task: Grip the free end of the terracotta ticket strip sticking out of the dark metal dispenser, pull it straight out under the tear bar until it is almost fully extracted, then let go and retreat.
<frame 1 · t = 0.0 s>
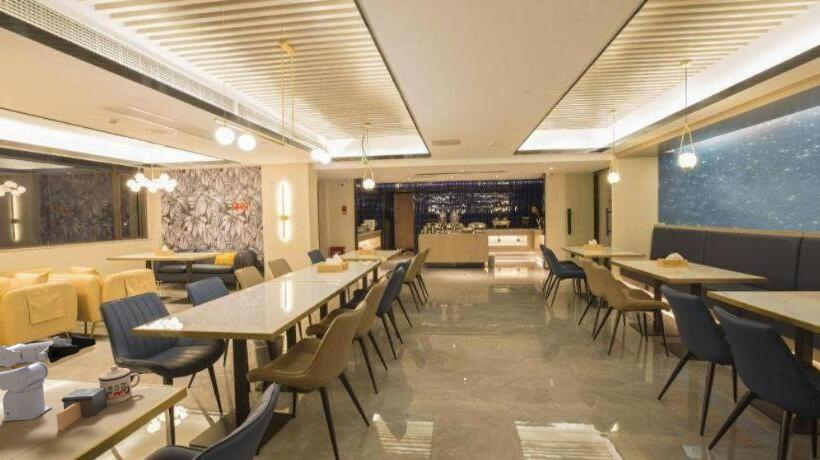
hand: (86, 345, 135), 22 cm above the table, tool horizontal, fingers open, 7 cm apart
dispenser: (86, 412, 135), on the table
teacup with lid: (121, 398, 145), on the table
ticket: (74, 412, 130), point 2 cm above the table, slide at 0.0 cm
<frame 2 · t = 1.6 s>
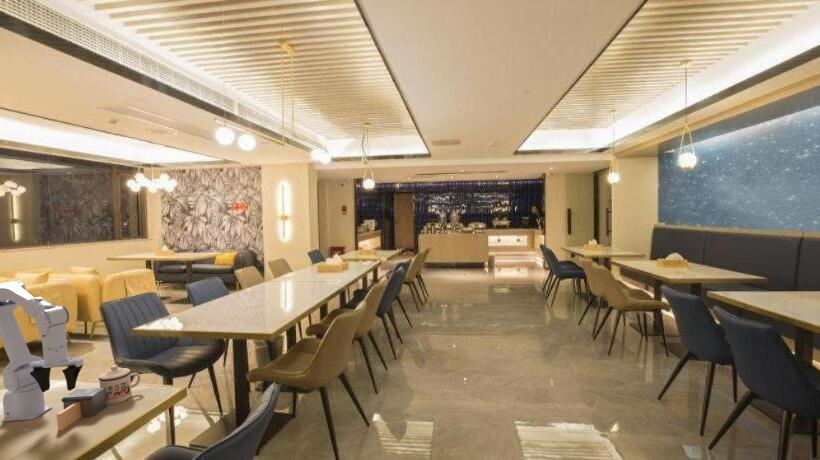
hand: (58, 390, 129), 10 cm above the table, tool pointing down, fingers open, 7 cm apart
nothing on the table moved.
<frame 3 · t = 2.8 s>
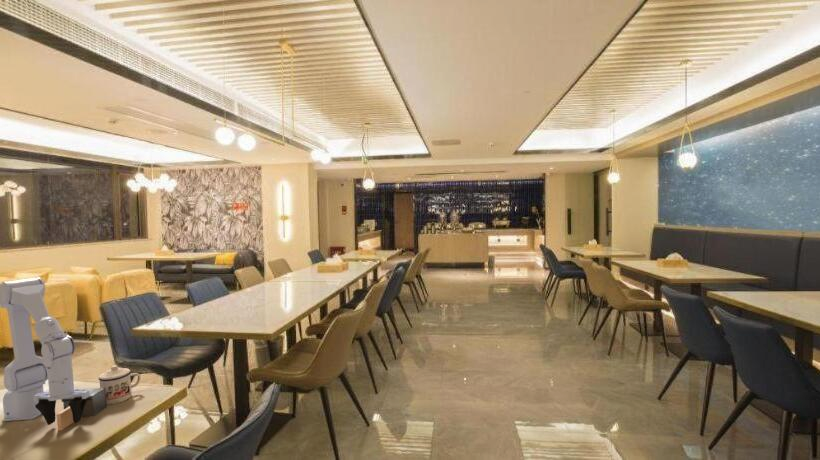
hand: (64, 422, 126), 1 cm above the table, tool pointing down, fingers open, 7 cm apart
nothing on the table moved.
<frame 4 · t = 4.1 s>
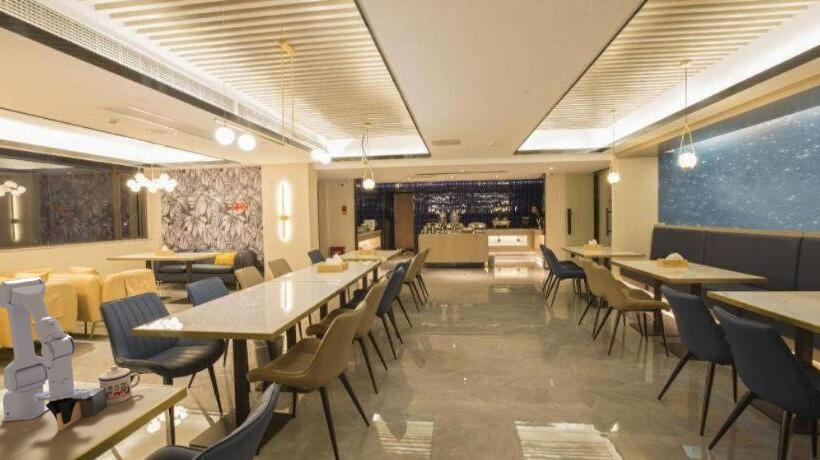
hand: (64, 422, 126), 1 cm above the table, tool pointing down, fingers closed, pressing on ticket
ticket: (74, 412, 130), point 3 cm above the table, slide at 0.0 cm, touching gripper
everything else where it was.
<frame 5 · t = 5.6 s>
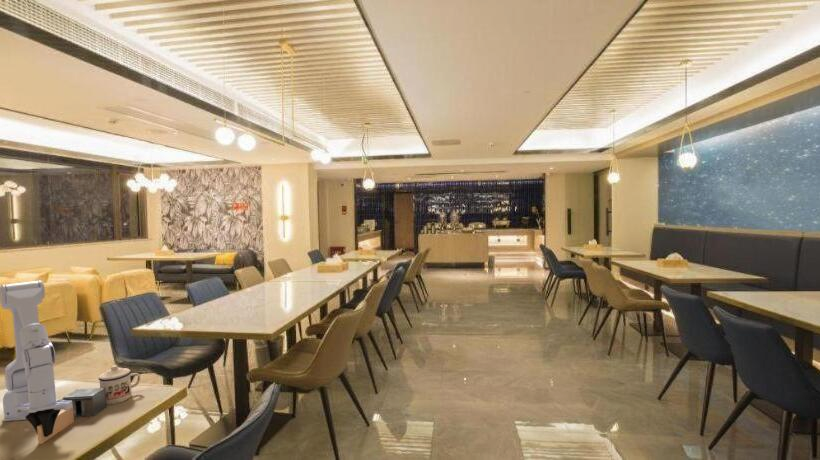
hand: (45, 435, 119), 1 cm above the table, tool pointing down, fingers closed, pressing on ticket
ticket: (56, 424, 123), point 2 cm above the table, slide at 7.0 cm, touching gripper
everything else where it was.
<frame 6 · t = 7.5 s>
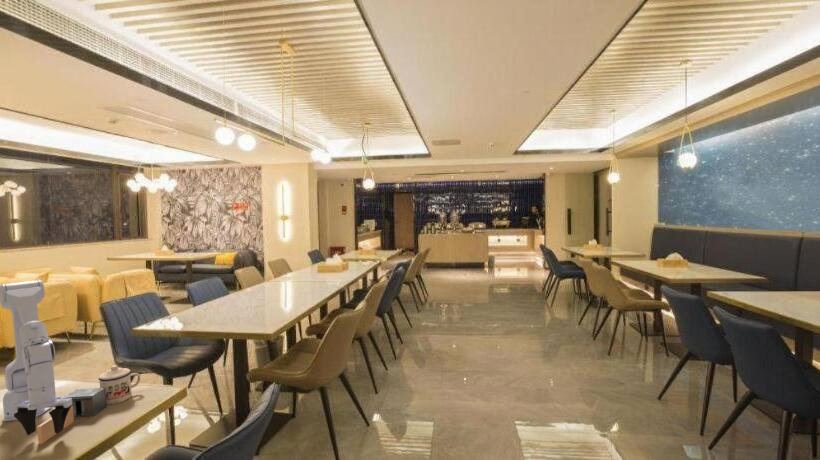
hand: (45, 432, 119), 2 cm above the table, tool pointing down, fingers open, 7 cm apart
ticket: (56, 424, 123), point 3 cm above the table, slide at 7.0 cm
everything else where it was.
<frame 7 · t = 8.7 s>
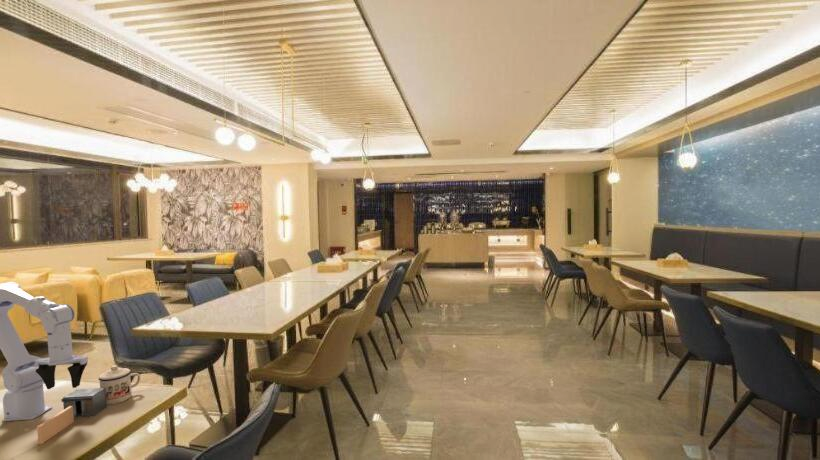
hand: (63, 387, 131), 10 cm above the table, tool pointing down, fingers open, 7 cm apart
nothing on the table moved.
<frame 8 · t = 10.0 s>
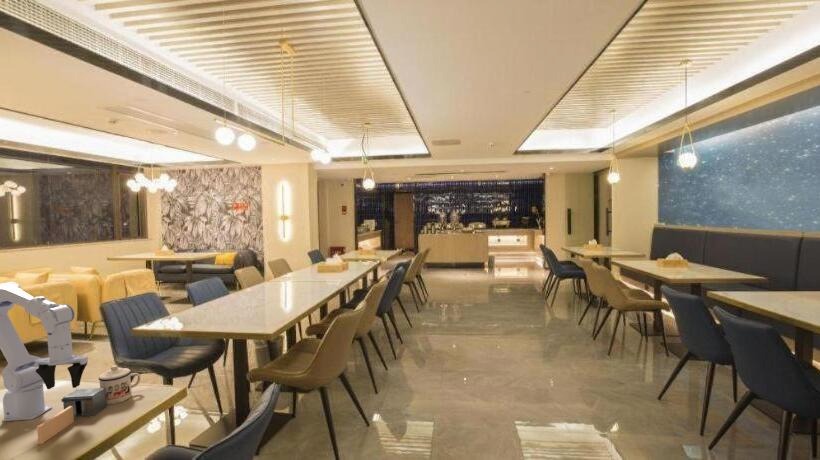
hand: (63, 387, 131), 10 cm above the table, tool pointing down, fingers open, 7 cm apart
nothing on the table moved.
at the end: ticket slide at 7.0 cm; the gripper is holding nothing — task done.
